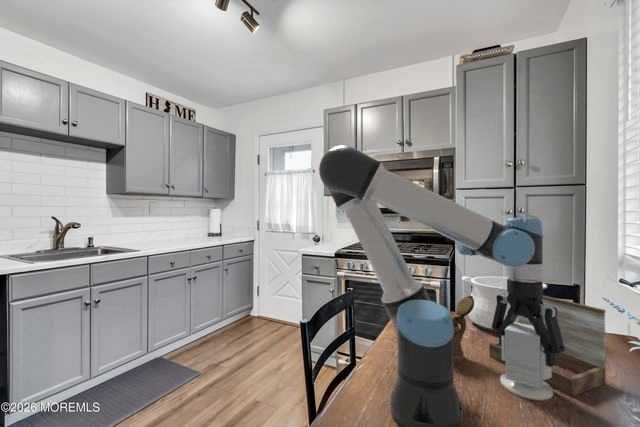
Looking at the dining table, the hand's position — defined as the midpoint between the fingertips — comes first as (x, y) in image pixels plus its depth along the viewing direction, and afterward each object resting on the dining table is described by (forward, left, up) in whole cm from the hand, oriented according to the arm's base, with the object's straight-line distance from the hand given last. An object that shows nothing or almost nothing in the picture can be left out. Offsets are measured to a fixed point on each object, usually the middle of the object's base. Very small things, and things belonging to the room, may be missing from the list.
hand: (525, 368), depth 77 cm
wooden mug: (-3, +20, -5) cm, 21 cm away
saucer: (0, 0, -5) cm, 5 cm away
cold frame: (+13, +4, -5) cm, 14 cm away
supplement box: (0, 0, -3) cm, 3 cm away
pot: (+33, +31, -5) cm, 46 cm away
